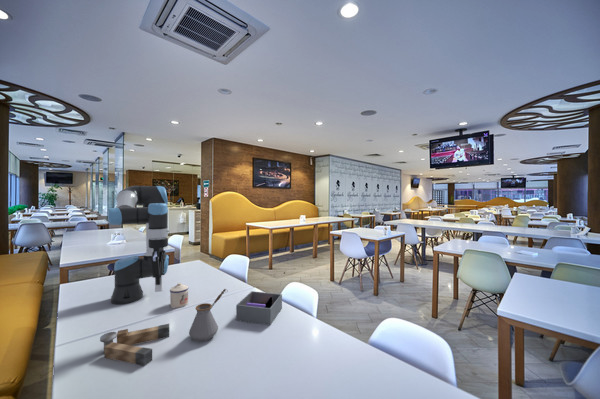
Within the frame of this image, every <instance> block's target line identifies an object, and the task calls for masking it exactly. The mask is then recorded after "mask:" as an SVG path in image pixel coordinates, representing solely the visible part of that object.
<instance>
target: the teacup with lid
mask: <svg viewBox="0 0 600 399" xmlns="http://www.w3.org/2000/svg"><path fill="white" fill-rule="evenodd" d="M169 292H170V296H169V297H170V298H169V299H170V302H169V303H170V305H169V306H170V307H171V308H173V309H178V308H182V307H186V306H187V305H188V304H189V286H188V285H186V284H182V283H181V282H177V284H176V285H175V286H172V287H171V288H169Z"/></svg>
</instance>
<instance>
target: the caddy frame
mask: <svg viewBox="0 0 600 399" xmlns="http://www.w3.org/2000/svg"><path fill="white" fill-rule="evenodd" d="M270 297H272V306H271V307H270V308H262V307H254V306H246V304H247V303H255V304H266V303H267V301H268V300H269V299H270ZM235 307H236V308H235V310H236V311H235V314H236V315H235V317H236V318H235V319H236V322H242V323H243V322H244V323H252V324H258V325H265V326H271V325H273V324H272V323H273V322H274V321H275V320H276V318H277V317H278V315H279V313H280V312H281V311H282V310H283V294H282V293H272V292H263V291H252V290H251V291H250V292H249V293H248V294H247V295H246V296H244V298H242V299H241V300H240V301H239V302H238V303H236V306H235Z"/></svg>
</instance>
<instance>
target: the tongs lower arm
mask: <svg viewBox="0 0 600 399" xmlns="http://www.w3.org/2000/svg"><path fill="white" fill-rule="evenodd" d="M103 354H104V359H105V358H106V359H111V360H115V361H118V362H119V361H120V362H125V363H130V364H134V365H140V366H143V367H145V366H147V365H148V364H150V363H151V362H152V361H153V348H149V347H140V346H135V345H125V344H120V343H117V342H114V339H113V340H111V341H107V342H103Z"/></svg>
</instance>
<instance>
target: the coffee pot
mask: <svg viewBox="0 0 600 399" xmlns="http://www.w3.org/2000/svg"><path fill="white" fill-rule="evenodd" d="M220 292H221V293H219V295H218V296H217V297H216V299H215V300H214V301H213V303H212V304H211V303H209V302H206V303H200V304H197V305H195V308H194V309H195V311H196V314H195V317H194V319H193V322H192V324H191V326H190V329H189V331H188V334H189V337H190V338H191V339H192V340H193V341H195V342H196V343H197V342H198V343H203V342H207V341H209V340H211V339H213V337H214V336H216V334H217V332H218V330H219V326H218V324H217V322H216V319H215V317H214V315H213V313H212V311H211V310H212V308H213V307H214V306H215V304H217V302H218V301H219V300H220V299H221V297H222V296H223V294H225V293H228V289H227V288H224V289H223V291H220Z"/></svg>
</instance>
